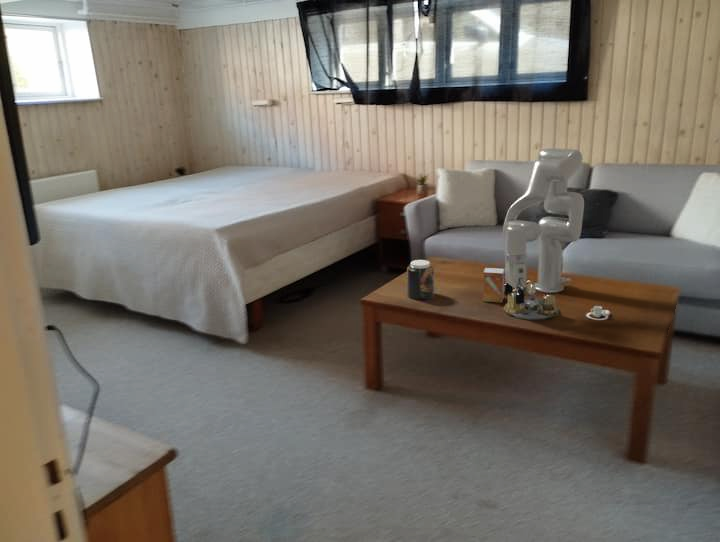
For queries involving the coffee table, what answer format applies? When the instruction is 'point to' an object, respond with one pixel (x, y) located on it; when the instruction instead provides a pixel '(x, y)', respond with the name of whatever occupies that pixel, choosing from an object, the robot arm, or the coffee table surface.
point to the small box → (493, 285)
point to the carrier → (537, 307)
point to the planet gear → (513, 305)
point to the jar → (420, 280)
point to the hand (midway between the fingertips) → (514, 299)
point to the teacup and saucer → (598, 313)
